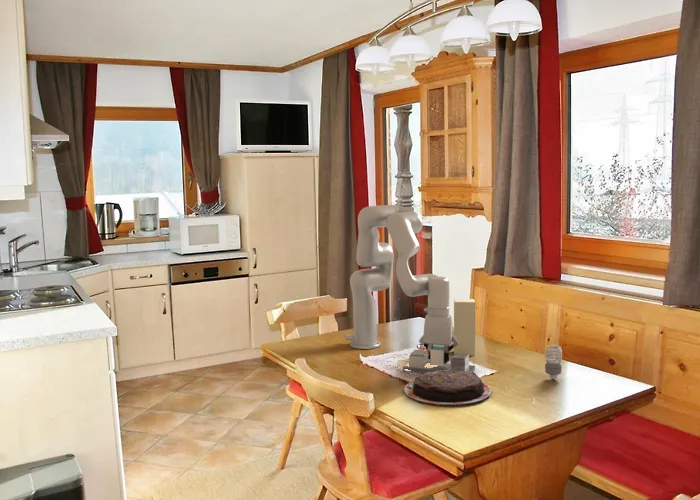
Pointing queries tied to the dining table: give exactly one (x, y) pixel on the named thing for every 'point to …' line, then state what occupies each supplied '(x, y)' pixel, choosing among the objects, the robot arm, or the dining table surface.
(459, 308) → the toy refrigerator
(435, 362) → the block
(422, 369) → the rail
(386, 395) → the dining table surface
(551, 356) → the light bulb
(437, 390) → the chocolate cake
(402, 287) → the robot arm
